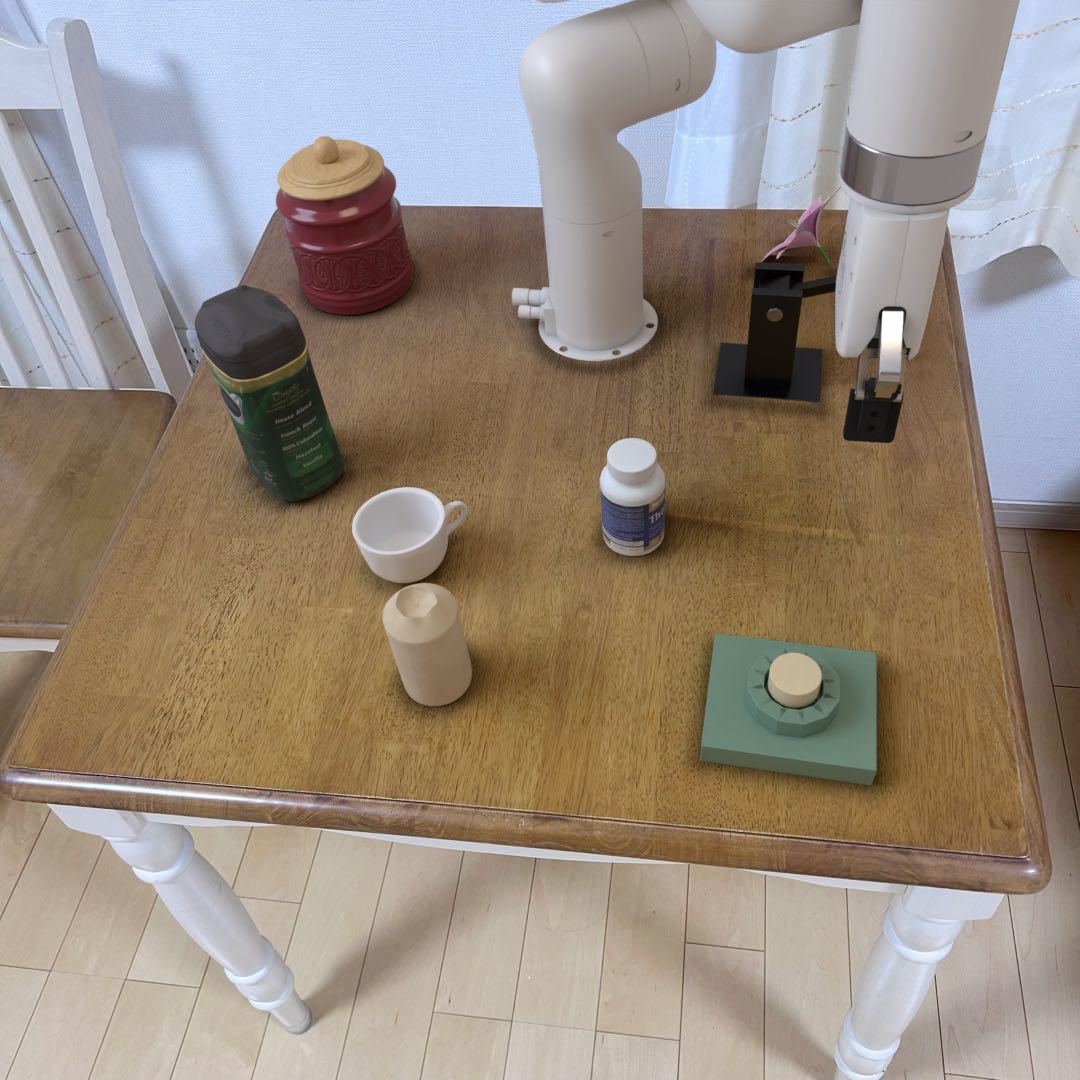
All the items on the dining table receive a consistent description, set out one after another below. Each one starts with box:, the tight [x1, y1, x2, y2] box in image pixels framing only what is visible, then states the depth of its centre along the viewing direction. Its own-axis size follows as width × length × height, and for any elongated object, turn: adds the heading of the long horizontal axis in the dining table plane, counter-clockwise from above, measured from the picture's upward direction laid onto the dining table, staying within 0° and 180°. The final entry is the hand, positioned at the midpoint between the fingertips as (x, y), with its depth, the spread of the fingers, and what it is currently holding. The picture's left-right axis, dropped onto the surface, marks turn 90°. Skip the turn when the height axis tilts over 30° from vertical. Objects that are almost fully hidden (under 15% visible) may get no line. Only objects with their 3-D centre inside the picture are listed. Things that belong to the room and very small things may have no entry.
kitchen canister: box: [275, 135, 414, 316], centre depth 111 cm, size 13×13×18 cm
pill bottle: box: [599, 437, 666, 557], centre depth 85 cm, size 5×5×10 cm
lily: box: [760, 186, 842, 267], centre depth 110 cm, size 12×12×10 cm
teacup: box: [351, 486, 469, 584], centre depth 87 cm, size 10×8×5 cm
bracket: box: [712, 261, 823, 403], centre depth 96 cm, size 10×8×12 cm
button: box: [768, 653, 822, 708], centre depth 73 cm, size 4×4×2 cm
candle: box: [381, 582, 473, 707], centre depth 77 cm, size 6×6×10 cm
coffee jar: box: [194, 284, 345, 502], centre depth 91 cm, size 10×8×19 cm
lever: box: [759, 274, 837, 299], centre depth 91 cm, size 12×5×2 cm, turn 78°
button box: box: [699, 632, 878, 786], centre depth 74 cm, size 12×10×4 cm
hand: (866, 391), depth 70 cm, fingers open, 9 cm apart
